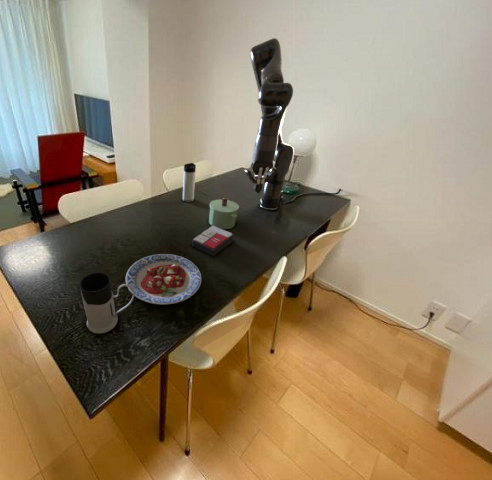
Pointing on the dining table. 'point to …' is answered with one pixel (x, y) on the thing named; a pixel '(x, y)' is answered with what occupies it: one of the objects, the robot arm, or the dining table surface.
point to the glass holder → (100, 302)
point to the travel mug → (189, 182)
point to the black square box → (212, 240)
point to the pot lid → (224, 205)
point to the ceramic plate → (163, 279)
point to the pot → (222, 219)
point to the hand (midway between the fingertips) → (257, 192)
